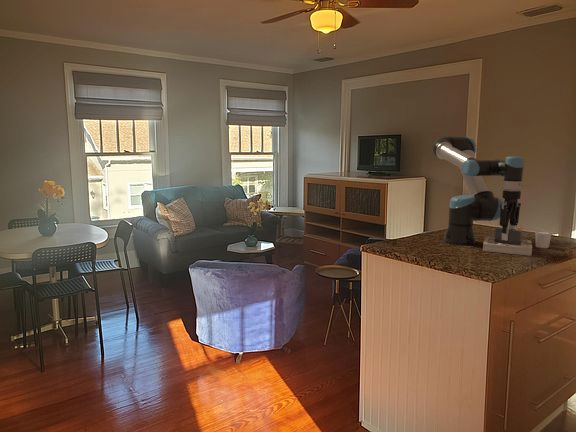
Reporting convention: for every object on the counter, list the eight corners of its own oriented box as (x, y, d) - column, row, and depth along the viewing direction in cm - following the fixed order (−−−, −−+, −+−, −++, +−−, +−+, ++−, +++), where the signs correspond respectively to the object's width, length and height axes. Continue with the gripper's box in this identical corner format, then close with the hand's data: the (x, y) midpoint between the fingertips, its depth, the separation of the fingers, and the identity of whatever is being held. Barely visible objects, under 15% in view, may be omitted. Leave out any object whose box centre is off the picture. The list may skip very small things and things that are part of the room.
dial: (490, 244, 211) (491, 227, 210) (497, 240, 220) (498, 224, 219) (518, 248, 203) (519, 231, 202) (524, 244, 212) (526, 227, 211)
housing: (482, 250, 209) (483, 242, 208) (485, 243, 225) (486, 235, 224) (531, 255, 200) (532, 247, 199) (530, 247, 216) (531, 239, 215)
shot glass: (542, 248, 214) (543, 234, 212) (530, 245, 220) (532, 231, 219) (553, 248, 215) (555, 233, 214) (542, 244, 222) (543, 231, 221)
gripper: (509, 191, 200) (504, 243, 204) (530, 189, 209) (525, 238, 213) (493, 190, 206) (489, 240, 210) (514, 188, 215) (510, 236, 219)
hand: (507, 239), depth 211 cm, fingers closed on dial, 4 cm apart
